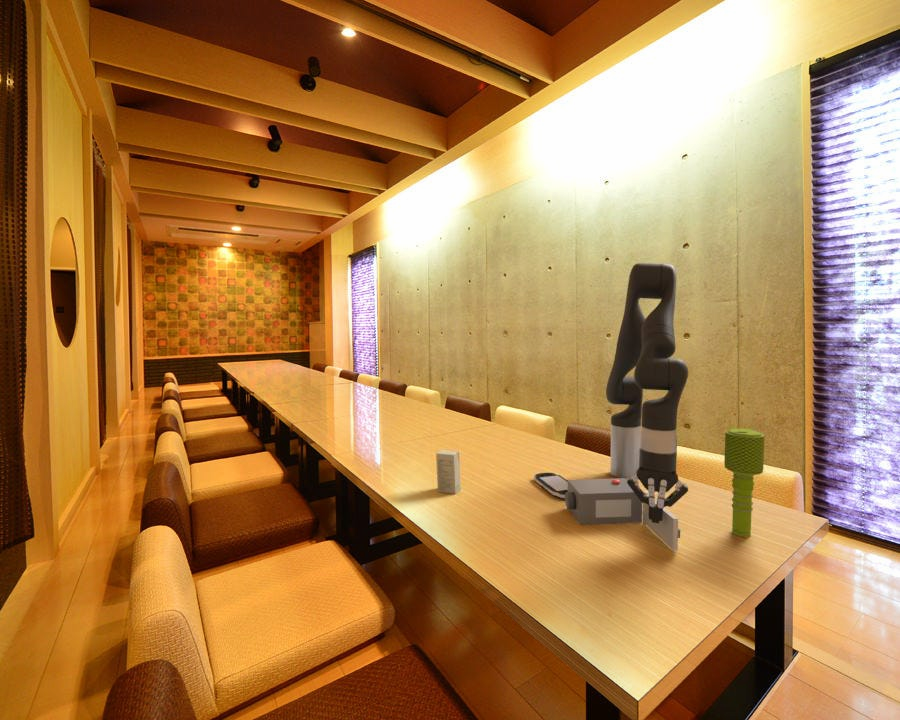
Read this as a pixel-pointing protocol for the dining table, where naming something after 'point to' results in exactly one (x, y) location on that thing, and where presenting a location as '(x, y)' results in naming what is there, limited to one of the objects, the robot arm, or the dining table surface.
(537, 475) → the gaming console
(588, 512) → the box
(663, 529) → the side door
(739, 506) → the green knurled bolt
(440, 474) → the skincare box
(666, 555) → the dining table surface
